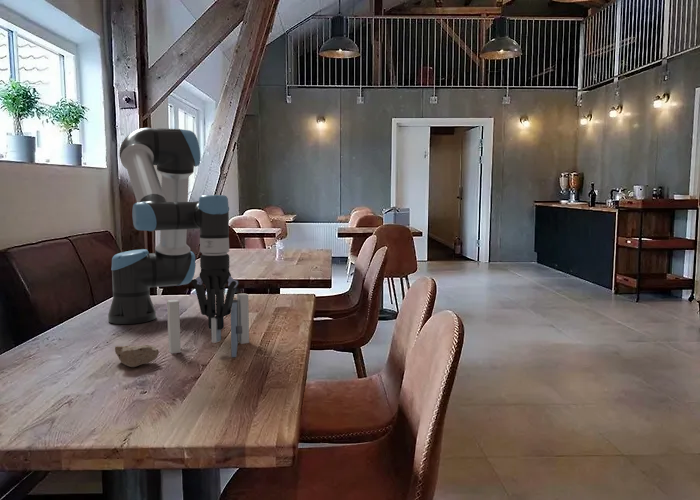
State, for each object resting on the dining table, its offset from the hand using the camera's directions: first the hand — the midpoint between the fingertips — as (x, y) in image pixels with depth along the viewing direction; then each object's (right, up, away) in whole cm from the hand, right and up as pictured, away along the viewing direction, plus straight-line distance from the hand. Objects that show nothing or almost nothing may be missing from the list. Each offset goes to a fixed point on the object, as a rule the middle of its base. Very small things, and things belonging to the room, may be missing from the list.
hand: (216, 341), depth 154 cm
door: (+5, -3, +4) cm, 7 cm away
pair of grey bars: (-4, -3, +7) cm, 8 cm away
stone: (-15, -5, -11) cm, 19 cm away
